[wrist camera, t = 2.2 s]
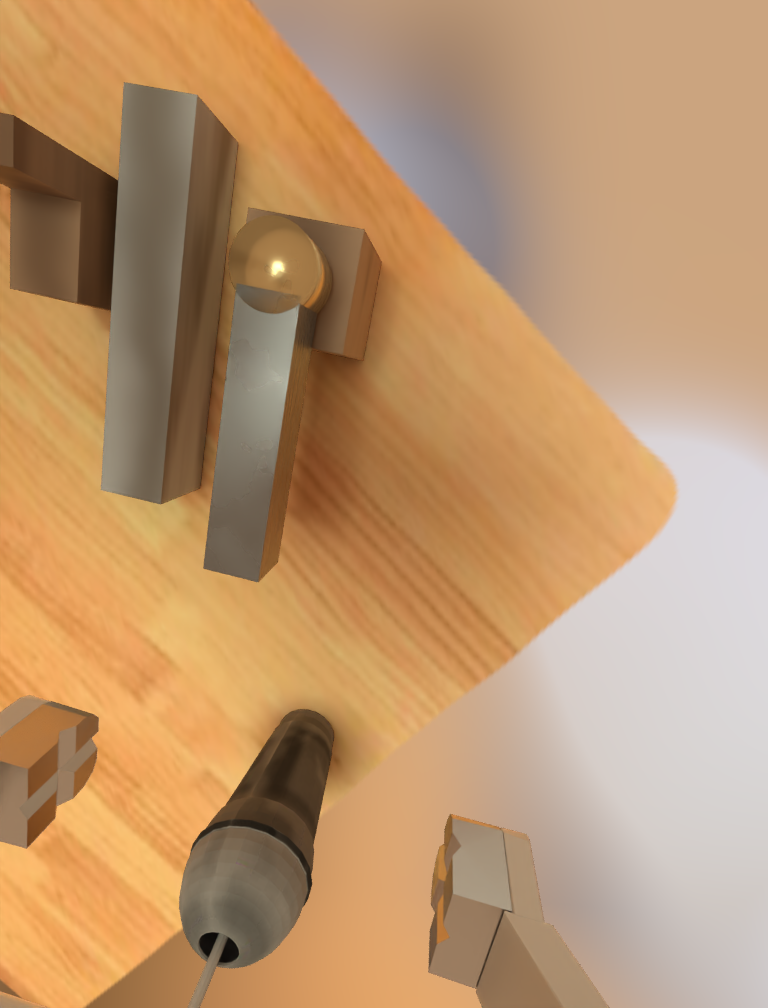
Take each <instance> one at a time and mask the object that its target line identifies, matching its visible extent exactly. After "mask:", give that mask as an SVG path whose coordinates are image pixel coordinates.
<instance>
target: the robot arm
mask: <svg viewBox="0 0 768 1008" xmlns="http://www.w3.org/2000/svg"><path fill="white" fill-rule="evenodd" d="M98 722H99V718H98V717H97V716H95V715H94V714H91V713H88V712H85V711H81V710H78V709H75V708H72V707H69V706H65V705H62V704H59V703H56V702H53V701H47V700H44V699H41V698H38V697H35V696H32V695H28V696H25V697H21V698H19V699H18V700H17V701H15V702H14V703H12V704H11V705H10V706H8V707H7V708H5V709H4V710H2V711H1V712H0V841H1V842H4V843H8V844H12V845H15V846H19V847H23V848H28V847H29V846H30V845H31V844H32V842H33V841H34V840H35V839H36V838H37V837H38V836H39V835H40V834H41V833H42V832H43V831H44V830H45V828H46V827H47V826H48V825H49V824H50V823H51V822H52V821H53V820H54V819H55V817H56V809H57V806H58V805H60V804H62V803H65V802H67V801H69V800H71V799H73V798H74V797H75V796H76V795H77V794H78V793H79V791H80V790H81V789H82V788H83V787H84V785H85V784H86V782H87V780H88V779H89V777H90V775H91V773H92V772H93V769H94V766H95V763H96V759H97V747H96V746H95V744H94V742H93V740H92V739H91V738H92V737H93V736H94V735H95V734H96V733H97V732H98ZM431 906H432V908H433V910H434V911H435V915H434V918H433V922H432V925H431V928H430V941H429V971H428V972H429V973H432V974H435V975H437V976H440V977H443V978H446V979H449V980H452V981H455V982H458V983H461V984H464V985H466V986H469V987H472V988H475V989H477V990H476V993H477V996H478V998H479V1001H480V1003H481V1005H482V1008H609V1006H608V1005H607V1004H606V1002H605V1001H604V999H603V998H602V996H601V995H600V993H599V992H598V990H597V989H596V987H595V986H594V985H593V983H592V982H591V980H590V979H589V977H588V976H587V974H586V973H585V971H584V970H583V969H582V967H581V966H580V964H579V963H578V961H577V960H576V958H575V957H574V956H573V954H572V952H571V951H570V950H569V948H568V947H567V945H566V944H565V942H564V941H563V939H562V938H561V937H560V935H559V933H558V932H557V931H556V929H555V928H554V926H553V925H550V924H547V923H545V922H544V917H543V912H542V906H541V901H540V895H539V889H538V883H537V878H536V873H535V867H534V861H533V856H532V850H531V845H530V839H529V838H528V836H527V835H526V834H523V833H520V832H516V831H513V830H508V829H505V828H499V827H497V826H493V825H490V824H486V823H482V822H479V821H475V820H471V819H467V818H464V817H460V816H456V815H453V814H450V816H449V818H448V820H447V824H446V826H445V835H444V844H443V845H442V846H440V847H439V850H438V854H437V858H436V862H435V868H434V873H433V881H432V891H431ZM0 1008H48V1007H45V1006H42V1005H39V1004H36V1003H33V1002H30V1001H27V1000H24V999H21V998H18V997H15V996H12V995H9V994H6V993H3V992H0Z"/></svg>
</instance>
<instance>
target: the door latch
mask: <svg viewBox="0 0 768 1008" xmlns="http://www.w3.org/2000/svg"><path fill="white" fill-rule="evenodd" d="M237 148H238V142H237V141H236V139H235V138H234V137H233V136H232V135H231V134H230V133H229V131H228V130H227V129H226V128H225V127H224V126H223V124H222V123H221V122H220V121H219V120H218V119H217V117H216V116H215V115H214V114H213V113H212V112H211V110H210V109H209V108H208V107H207V106H206V105H205V103H204V102H203V101H202V100H201V99H200V98H199V96H198V95H195V94H189V93H183V92H177V91H172V90H166V89H160V88H154V87H148V86H143V85H137V84H131V83H125V82H124V89H123V107H122V125H121V143H120V161H119V179H118V180H116V179H115V178H113V177H111V176H110V175H108V174H107V173H105V172H104V171H102V170H100V169H99V168H97V167H96V166H94V165H92V164H91V163H89V162H88V161H86V160H84V159H83V158H81V157H80V156H78V155H76V154H75V153H73V152H72V151H70V150H68V149H67V148H65V147H64V146H62V145H60V144H59V143H57V142H56V141H54V140H52V139H51V138H49V137H48V136H46V135H44V134H43V133H41V132H40V131H38V130H36V129H35V128H33V127H32V126H30V125H28V124H27V123H25V122H24V121H22V120H20V119H19V118H17V117H16V116H14V115H9V114H4V113H0V183H1V184H3V185H5V186H7V187H9V188H11V226H10V289H14V290H19V291H23V292H28V293H32V294H37V295H41V296H45V297H50V298H54V299H59V300H63V301H68V302H72V303H77V304H81V305H85V306H90V307H95V308H99V309H104V310H109V311H111V321H110V339H109V357H108V375H107V393H106V410H105V428H104V446H103V464H102V482H101V490H103V491H107V492H112V493H116V494H120V495H124V496H128V497H132V498H137V499H141V500H145V501H149V502H153V503H157V504H163V503H165V502H168V501H170V500H172V499H175V498H177V497H180V496H182V495H185V494H187V493H190V492H192V491H195V490H197V489H200V485H201V476H202V467H203V457H204V448H205V439H206V430H207V421H208V412H209V403H210V394H211V385H212V375H213V366H214V357H215V348H216V339H217V330H218V321H219V312H220V303H221V294H222V284H223V275H224V266H225V257H226V248H227V239H228V230H229V221H230V212H231V203H232V193H233V184H234V175H235V166H236V157H237ZM266 215H275V216H281V217H284V218H287V219H289V220H291V221H292V222H294V223H296V224H297V225H298V226H299V227H300V228H301V229H302V230H303V231H304V232H305V233H306V234H307V235H308V236H309V237H310V239H311V240H312V241H313V242H314V243H315V244H316V245H317V246H318V247H319V248H320V249H321V250H322V252H323V253H324V255H325V256H326V258H327V260H328V262H329V265H330V269H331V274H332V286H331V291H330V295H329V298H328V300H327V302H326V304H325V305H324V307H323V308H322V309H321V310H320V312H318V313H317V318H316V325H315V331H314V337H313V344H312V350H314V351H319V352H323V353H328V354H333V355H338V356H342V357H347V358H352V359H357V360H361V361H363V359H364V354H365V348H366V343H367V338H368V332H369V327H370V321H371V316H372V311H373V305H374V300H375V294H376V289H377V284H378V278H379V273H380V268H381V260H380V258H379V256H378V254H377V252H376V250H375V249H374V247H373V245H372V243H371V241H370V239H369V237H368V235H367V234H366V232H365V230H364V229H359V228H354V227H349V226H343V225H338V224H333V223H327V222H322V221H317V220H312V219H306V218H301V217H296V216H291V215H285V214H280V213H275V212H269V211H264V210H259V209H254V208H248V214H247V223H248V222H250V221H252V220H254V219H255V218H258V217H261V216H266ZM247 223H246V224H247Z"/></svg>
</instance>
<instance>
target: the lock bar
mask: <svg viewBox="0 0 768 1008" xmlns="http://www.w3.org/2000/svg"><path fill="white" fill-rule="evenodd" d="M228 265H229V274H230V278H231V281H232V284H233V286H234V288H235V290H236V293H235V302H234V310H233V319H232V328H231V336H230V345H229V353H228V362H227V370H226V379H225V388H224V396H223V405H222V413H221V422H220V430H219V439H218V447H217V456H216V465H215V473H214V482H213V490H212V499H211V507H210V516H209V525H208V533H207V542H206V550H205V559H204V567H203V569H207V570H211V571H215V572H219V573H223V574H227V575H231V576H235V577H239V578H243V579H247V580H251V581H255V582H259V581H260V580H261V579H262V578H263V577H264V576H265V575H266V574H267V573H268V572H269V571H270V570H271V569H272V568H273V567H274V566H275V565H276V564H277V562H278V558H279V552H280V545H281V539H282V533H283V527H284V520H285V514H286V508H287V501H288V495H289V489H290V482H291V476H292V470H293V463H294V457H295V451H296V445H297V438H298V432H299V426H300V419H301V413H302V407H303V400H304V394H305V388H306V381H307V375H308V369H309V362H310V356H311V350H312V344H313V337H314V331H315V325H316V318H317V313H318V312H320V310H321V309H322V308H323V307H324V305H325V304H326V302H327V300H328V298H329V295H330V291H331V286H332V274H331V269H330V265H329V262H328V260H327V258H326V256H325V255H324V253H323V252H322V250H321V249H320V248H319V247H318V246H317V245H316V244H315V243H314V242H313V241H312V240H311V239H310V237H309V236H308V235H307V234H306V233H305V232H304V231H303V230H302V229H301V228H300V227H299V226H298V225H297V224H296V223H294V222H292V221H291V220H289V219H287V218H284V217H281V216H275V215H266V216H261V217H258V218H255V219H254V220H252V221H250V222H248V223H247V224H246V225H245V226H244V227H243V228H242V229H241V230H240V231H239V232H238V233H237V235H236V237H235V238H234V241H233V243H232V245H231V249H230V253H229V262H228Z"/></svg>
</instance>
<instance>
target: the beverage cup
mask: <svg viewBox="0 0 768 1008" xmlns="http://www.w3.org/2000/svg"><path fill="white" fill-rule="evenodd" d="M333 741H334V734H333V730H332V728H331V725H330V723H329V722H328V721H327V720H326V719H325V718H324V717H323V716H321V715H320V714H318V713H317V712H313V711H310V710H296V711H292V712H290V713H289V714H287V715H286V716H285V717H284V718H283V720H282V721H281V723H280V725H279V726H278V727H277V728H276V729H275V731H274V732H273V733H272V735H271V736H270V738H269V739H268V741H267V743H266V744H265V746H264V747H263V749H262V750H261V752H260V753H259V755H258V756H257V758H256V759H255V761H254V762H253V764H252V766H251V767H250V769H249V770H248V772H247V773H246V775H245V776H244V778H243V779H242V781H241V782H240V784H239V786H238V787H237V789H236V790H235V792H234V793H233V795H232V796H231V798H230V799H229V801H228V802H227V804H226V805H225V806H224V807H223V808H222V809H221V810H220V811H219V812H218V813H217V815H216V816H215V817H214V818H213V819H212V821H211V822H210V823H209V825H208V826H207V828H206V829H205V830H203V831H202V832H201V833H200V834H199V836H198V837H197V839H196V840H195V842H194V843H193V845H192V849H191V853H190V857H189V859H188V861H187V864H186V867H185V870H184V874H183V879H182V885H181V891H180V897H179V909H180V915H181V921H182V926H183V931H184V933H185V935H186V938H187V940H188V941H189V943H190V945H191V946H192V948H193V949H194V950H195V952H196V953H197V954H198V955H199V956H200V957H201V958H202V959H204V960H205V961H207V963H206V965H205V968H204V970H203V973H202V975H201V977H200V979H199V982H198V984H197V987H196V989H195V991H194V994H193V996H192V998H191V1001H190V1003H189V1006H188V1008H200V1006H201V1003H202V1000H203V998H204V996H205V993H206V991H207V988H208V986H209V984H210V981H211V979H212V976H213V974H214V971H215V969H216V966H218V967H222V968H239V967H245V966H248V965H251V964H253V963H255V962H257V961H259V960H261V959H263V958H264V957H266V956H267V955H269V954H270V953H272V952H273V951H274V950H275V949H276V948H277V947H278V946H279V945H280V943H281V942H282V941H283V940H284V938H285V937H286V936H287V935H288V934H289V932H290V931H291V929H292V928H293V926H294V925H295V923H296V921H297V919H298V918H299V916H300V913H301V910H302V907H303V906H304V905H305V903H306V902H307V900H308V897H309V894H310V890H311V886H312V879H311V873H312V869H313V856H314V848H313V844H314V839H315V834H316V829H317V824H318V820H319V815H320V810H321V805H322V800H323V795H324V790H325V785H326V780H327V775H328V770H329V765H330V761H331V756H332V746H333V745H332V744H333Z"/></svg>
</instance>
